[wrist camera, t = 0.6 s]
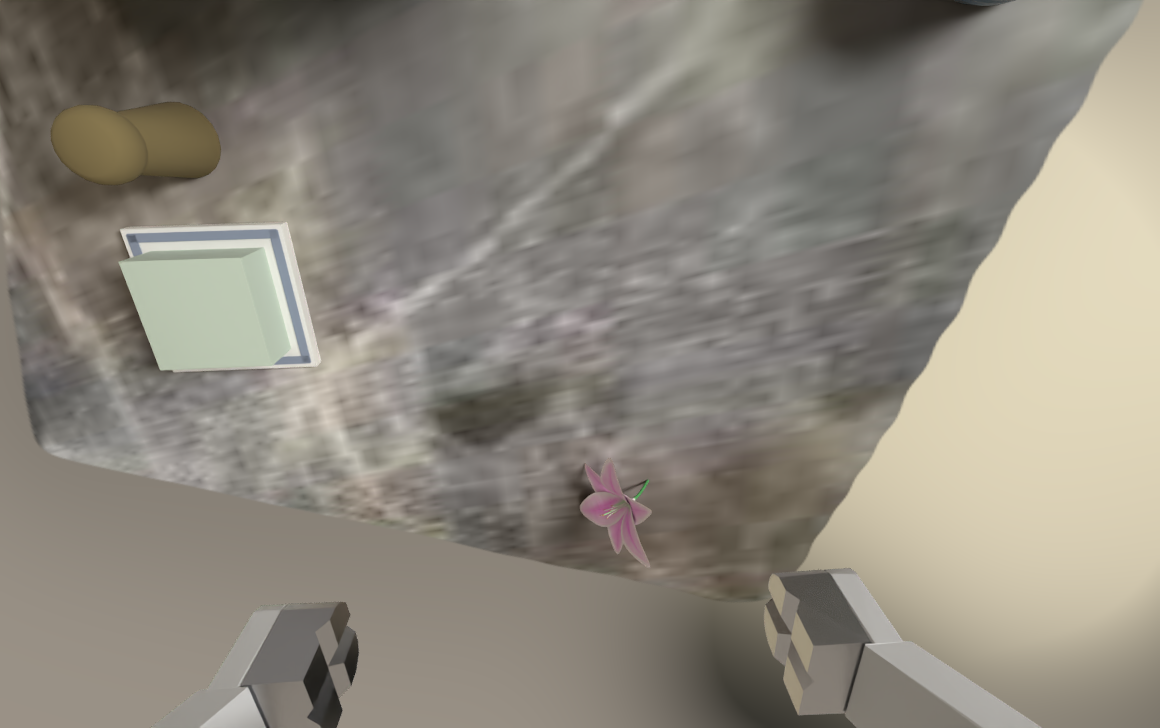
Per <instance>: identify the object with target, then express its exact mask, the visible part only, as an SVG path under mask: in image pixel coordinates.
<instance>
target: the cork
mask: <svg viewBox="0 0 1160 728" xmlns="http://www.w3.org/2000/svg"><path fill="white" fill-rule="evenodd" d="M51 142H52V145H53V147H54V150H55V152H56V154H57V155H58V157H59V158H60V160H61V161H62V163H64V164H65V165H66V166H67V167H68V168H69V169H70V170H71V171H72V172H74V173H75V174H77V175H79V176H80V177H82V178H84V179H85V180H88V181H91V182H94V183H98V184H102V185H120V184H124V183H127V182H130V181H133V180H134V179H136V178H137V177H138V176H139V175H147V176H165V177H184V178H200V177H203V176H206V175H208V174H209V173H211V172H212V171H213V170H214V169H215V168H216V166H217V164H218V162H219V160H220V152H221V146H220V142H219V138H218V135H217V133H216V131H215V129H214V127H213V126H212V124H211V123H210V122H209V121H208V120H207V118H206V117H205V116H204V115H203V114H202V113H200V112H199V111H197V110H196V109H194V108H193V107H191V106H188V105H185V104H182V103H180V102H165V103H160V104H154V105H149V106H144V107H139V108H134V109H129V110H123V111H118V112H115V111H113V110H110V109H107V108H104V107H101V106H96V105H77V106H74V107H71V108H69V109H66V110H63V111H62V112H61V113H60V114H59V115H58V116H57V117H56V118H55V120H54V122H53V125H52V128H51Z"/></svg>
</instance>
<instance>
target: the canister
mask: <svg viewBox="0 0 1160 728" xmlns="http://www.w3.org/2000/svg"><path fill="white" fill-rule="evenodd" d="M954 1H956V2H959V3H963V4H968V5H979V6H991V5H999V4H1003V3H1007V2H1011V1H1015V0H954Z"/></svg>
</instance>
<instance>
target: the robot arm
mask: <svg viewBox="0 0 1160 728" xmlns="http://www.w3.org/2000/svg"><path fill="white" fill-rule="evenodd" d="M768 589H769V591H770V593H771V596H772V599H771V600H770V601H769V602H768V603H766V604H765V612H764V623H765V632H766V636H767V640H768V643H769V646H770V648H771V651H772V654H773V656H774V657H775V658H776V659H777V660H778V661H780V662H781V663H782V664H783V665H784V666H785V673H784V678H783V680H784V683H785V685H786V687H787V690H788V692H789V695H790V697H791V699H792V702H793V704H794V707H795V709H796V711H797V714H798V715H812V714H813V715H814V714H835V713H846V714H845V716H846V717H847V718H848V719H849V720H850V721H851V722H852V723H853V724H854V725H855V726H856V727H857V728H1042V727H1040V726H1039V725H1037V724H1036V723H1034V722H1033V721H1031V720H1030V719H1028V718H1027V717H1025V716H1023V715H1022V714H1021V713H1019V712H1017V711H1016V710H1015V709H1013V708H1012V707H1010V706H1008V705H1007V704H1005V703H1004V702H1002V701H1001V700H999V699H998V698H996V697H995V696H993V695H992V694H990V693H989V692H987V691H986V690H984V689H983V688H981V687H980V686H978V685H977V684H975V683H973V682H972V681H971V680H969V679H968V678H966V677H965V676H963V675H962V674H960V673H959V672H957V671H956V670H954V669H952V668H951V667H950V666H948V665H946V664H945V663H943V662H942V661H940V660H939V659H937V658H936V657H934V656H933V655H931V654H930V653H928V652H927V651H925V650H924V649H922V648H921V647H919V646H918V645H916V644H915V643H913V642H911V641H902V639H901V638H900V636H899V635H898V633H897V632H896V630H895V629H894V627H893V626H892V624H891V623H890V622H889V620H888V619H887V617H886V616H885V614H884V613H883V611H882V610H881V608H880V607H879V606H878V604H877V602H876V601H875V600H874V598H873V597H872V595H871V594H870V592H869V591H868V589H867V588H866V586H865V585H864V583H863V582H862V580H861V579H860V578H859V576H858V575H857V573H856V572H855V571H854V570H852V569H851V568H844V569H828V570H812V571H798V572H785V573H773V574H772V576H771V577H770V579H769V585H768ZM349 617H350V613H349V610H348V607H347V604H346V603H345V602H324V603H300V604H299V603H298V604H281V605H261V606H260V607H259V608H258V609H256V610H255V611H254V612H253V613H252V615H251V616H250V618H249V620H248V621H247V623H246V625H245V626H244V628H243V630H242V631H241V633H240V635H239V637H238V638H237V640H236V641H235V643H234V645H233V647H232V648H231V650H230V652H229V653H228V655H227V656H226V658H225V660H224V662H223V663H222V665H221V667H220V668H219V670H218V671H217V673H216V675H215V676H214V678H213V680H212V681H211V683H210V685H209V687H208V688H207V689H204V690H197V691H196V692H195V693H194V694H193V695H191V696H190V697H189V698H187V699H186V700H185V701H184V702H182V703H181V704H180V705H179V706H177V707H176V708H175V709H173V710H172V711H171V712H169V713H168V714H167V715H166V716H164V717H163V718H162V719H161V720H159V721H158V722H157V723H156V724H154V725H153V726H152V727H151V728H337V725H338V722H339V720H340V717H341V714H342V707H341V704H340V701H339V698H340V697H341V696H342V695H343V694H344V693H345V692H346V691H347V690H348V689H349V688H350V687H351V685H352V682H353V679H354V676H355V673H356V669H357V662H358V656H359V648H358V639H357V636H356V633H355V631H354V630H352V629H351V628H350V627H348V626H347V622H348V620H349Z"/></svg>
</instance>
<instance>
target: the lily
mask: <svg viewBox="0 0 1160 728" xmlns="http://www.w3.org/2000/svg"><path fill="white" fill-rule="evenodd" d="M585 470H586V473H587V476H588V478H589V481H590V483H591V486H592V487H593V489H594V491H595V493H593V494H591V495H589V496H588V497H587V498H586V499H585V500H584V501H583V502H582V503H581V505H580V511H581V513H582V514H583V515H584V516H585V517H587V518H588V519H589V520H590V521H592V522H593V523H595V524H597V525H599V526H603V527H607V528H608V533H609V536H610V540H611V542H612V545H613V548H614V550H615V552H616V553H617V554H619V553H620V551H621V549H622V546H623V544H624V545H625V547H626V548H627V550H628V551H629V552H630V553H631V554H632V555H633V556H634V557H635V558H636V559H637V560H638V561H639V562H641V563H642V564H643V565H644V566H646V567H647V568H650V564H649V561H648V559H647V557H646V554H645V552H644V550H643V548H642V545H641V543H640V540H639V537H638V534H637V531H636V528H635V525H636V524H640V523H641V522H643V521H644V520H645V519H647V518H648V517H649V516H650V515H651V512H652V511H651V510H650V509H649V508H647V507H645V506H644V505H642V504H640V503H638V502H636V501H635V500H636V499H637V498H638V497H639V496H640V495H641V493H642V492H643V490H644V489H645V487H646V485H647V484H648V482H649V480H646V482H645V484H644V486H643V487H642V489H641V490H640V492H639V493H638V494H637V495H636V496H635V497H634V498H632V499H631V498H629V497H628V496H626V495H625V494H623V493H622V490H621V488H620V485H619V482H618V478H617V475H616V471H615V467H614V464H613V461H612V459H611V458H608V459H607V460H606V462H605V464H604V466H603V468H602V471H601V475H600V476H599V475H598V474H597V473H596V472H594V471H593V470H592V469H591V468H590V467H589V466H588V465H587V464H586V463H585ZM632 513H633V516H632Z"/></svg>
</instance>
